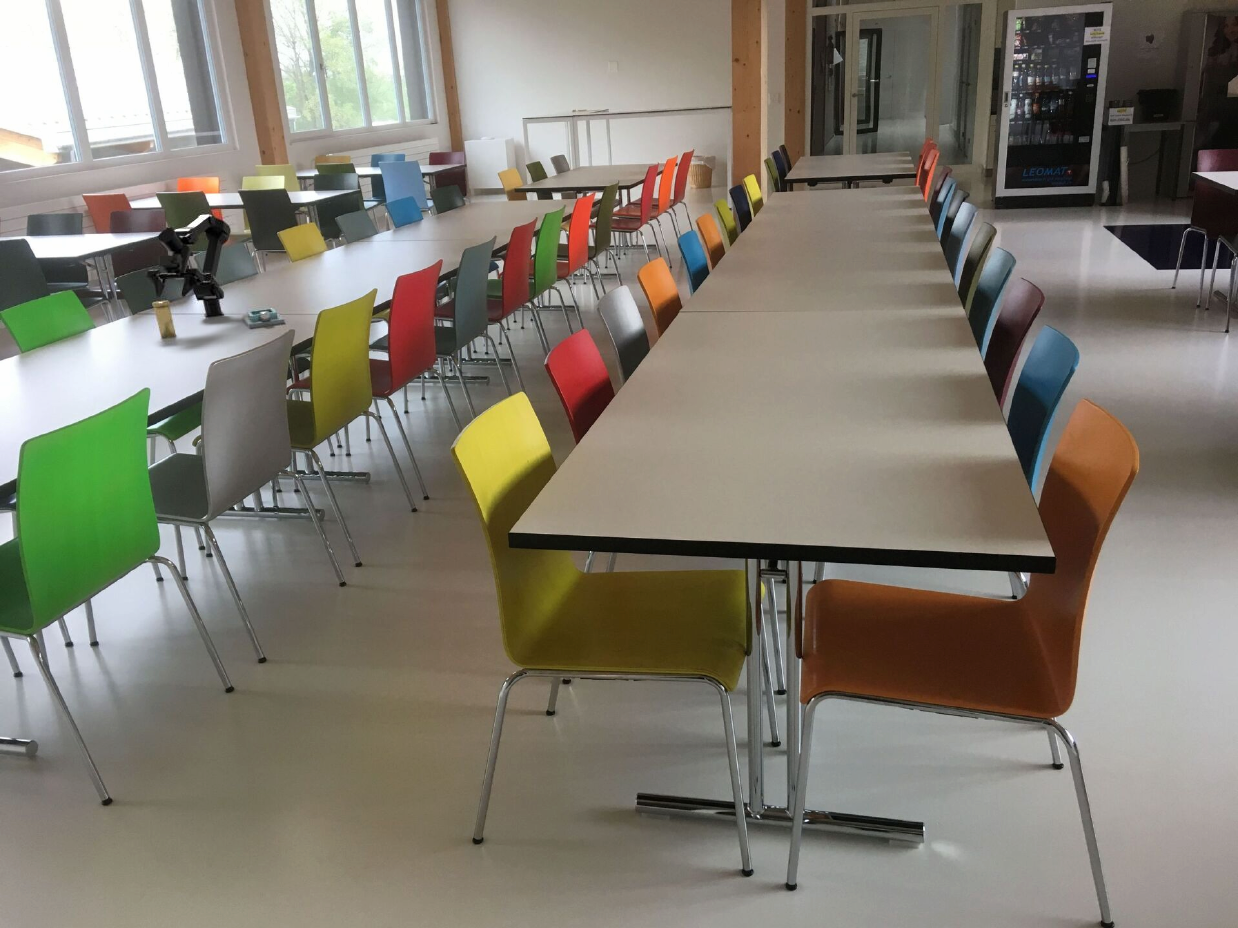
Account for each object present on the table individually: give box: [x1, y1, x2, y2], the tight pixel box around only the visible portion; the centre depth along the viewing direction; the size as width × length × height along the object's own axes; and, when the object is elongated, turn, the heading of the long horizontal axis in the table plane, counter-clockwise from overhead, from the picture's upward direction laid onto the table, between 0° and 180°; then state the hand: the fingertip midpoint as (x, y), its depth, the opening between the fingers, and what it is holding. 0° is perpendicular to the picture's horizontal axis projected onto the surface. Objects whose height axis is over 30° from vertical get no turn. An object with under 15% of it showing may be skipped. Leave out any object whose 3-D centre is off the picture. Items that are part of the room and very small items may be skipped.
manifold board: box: [241, 307, 286, 329], centre depth 347 cm, size 18×12×4 cm, turn 28°
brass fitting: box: [151, 300, 177, 339], centre depth 332 cm, size 5×5×12 cm
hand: (170, 296), depth 336 cm, fingers open, 9 cm apart
